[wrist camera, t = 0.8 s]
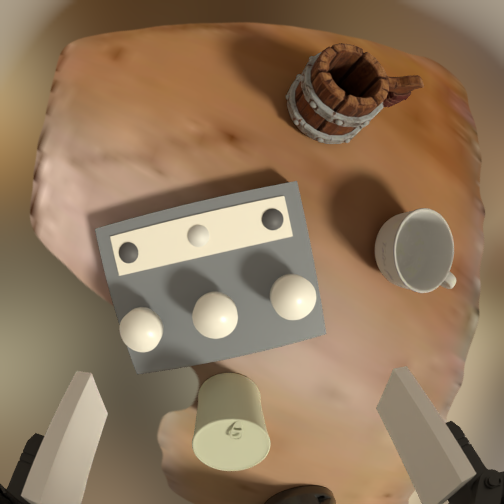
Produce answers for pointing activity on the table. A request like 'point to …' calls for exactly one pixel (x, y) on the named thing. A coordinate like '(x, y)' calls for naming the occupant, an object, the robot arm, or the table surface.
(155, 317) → the button
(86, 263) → the table surface
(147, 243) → the button board
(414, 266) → the teacup
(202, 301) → the button middle
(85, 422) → the robot arm
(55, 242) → the table surface
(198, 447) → the can
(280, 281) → the button
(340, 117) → the mug
